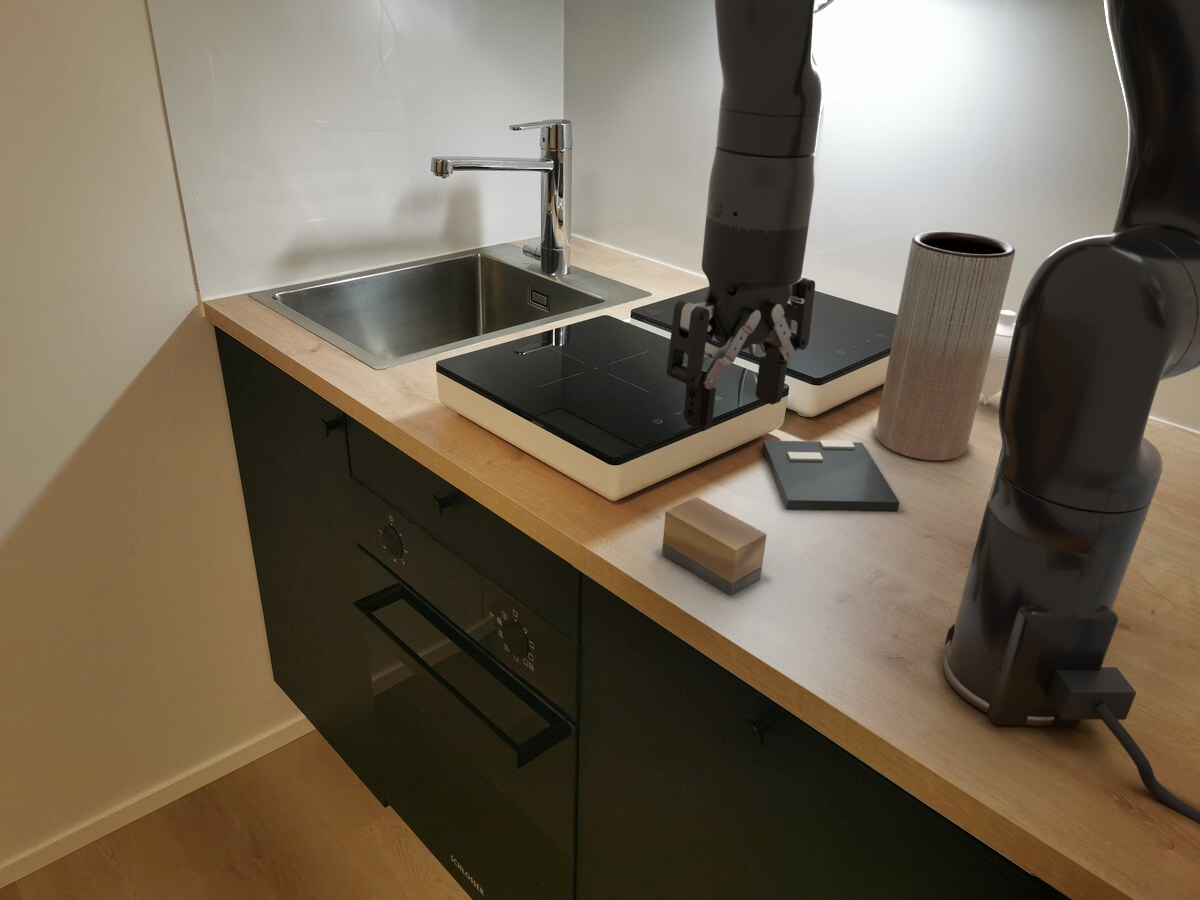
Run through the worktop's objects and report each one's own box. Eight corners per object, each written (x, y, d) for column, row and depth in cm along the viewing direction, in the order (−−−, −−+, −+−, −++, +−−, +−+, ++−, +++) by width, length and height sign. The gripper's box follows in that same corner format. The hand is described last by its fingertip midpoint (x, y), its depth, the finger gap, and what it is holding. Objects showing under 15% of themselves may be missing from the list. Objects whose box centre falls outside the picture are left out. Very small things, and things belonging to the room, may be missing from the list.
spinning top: (941, 393, 116) (961, 302, 110) (995, 390, 117) (1018, 301, 112) (973, 418, 109) (997, 323, 104) (1030, 415, 110) (1057, 321, 105)
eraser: (730, 596, 75) (735, 550, 73) (661, 554, 81) (665, 510, 79) (760, 578, 78) (767, 533, 76) (692, 538, 83) (696, 496, 81)
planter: (970, 468, 97) (1022, 259, 87) (874, 454, 100) (914, 249, 89) (962, 429, 106) (1009, 236, 96) (874, 417, 108) (910, 227, 98)
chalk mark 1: (854, 449, 98) (855, 446, 98) (822, 448, 98) (823, 446, 98) (850, 443, 100) (851, 440, 100) (819, 442, 100) (819, 439, 99)
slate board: (897, 511, 89) (899, 502, 88) (786, 508, 88) (788, 500, 88) (860, 450, 100) (862, 442, 100) (762, 448, 100) (763, 440, 100)
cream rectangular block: (822, 461, 96) (823, 458, 95) (790, 460, 95) (790, 458, 95) (819, 454, 97) (819, 452, 97) (787, 454, 97) (787, 451, 97)
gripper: (731, 237, 60) (708, 455, 67) (857, 211, 68) (824, 407, 76) (652, 215, 65) (639, 420, 72) (779, 193, 73) (755, 378, 81)
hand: (734, 413), depth 74 cm, fingers open, 8 cm apart
